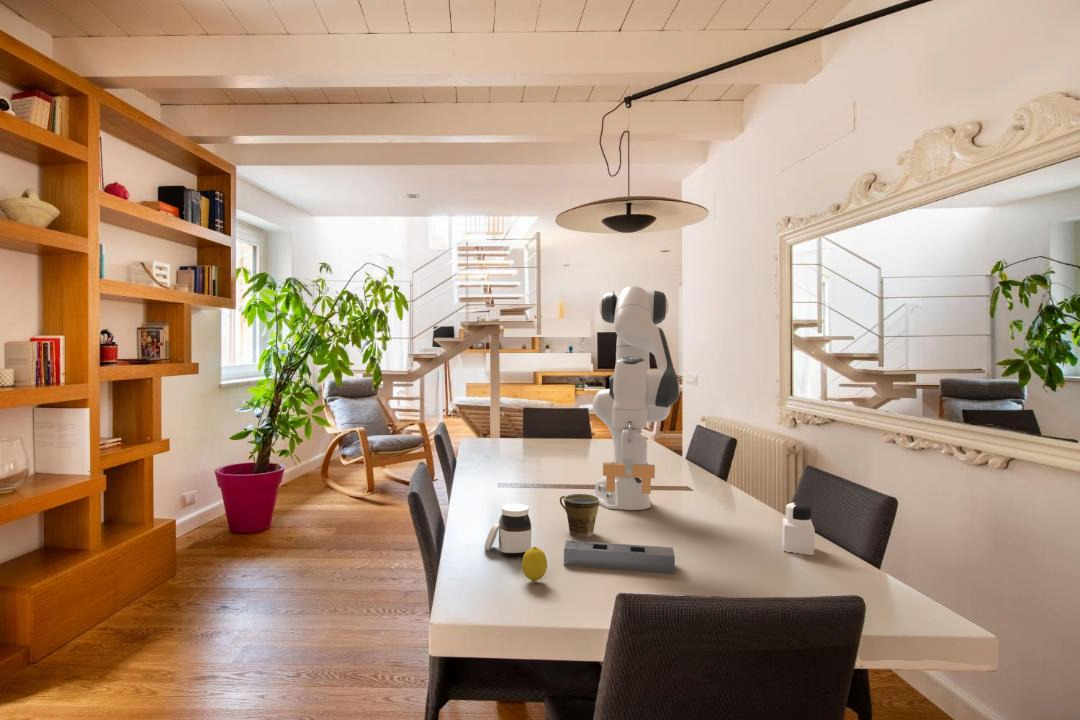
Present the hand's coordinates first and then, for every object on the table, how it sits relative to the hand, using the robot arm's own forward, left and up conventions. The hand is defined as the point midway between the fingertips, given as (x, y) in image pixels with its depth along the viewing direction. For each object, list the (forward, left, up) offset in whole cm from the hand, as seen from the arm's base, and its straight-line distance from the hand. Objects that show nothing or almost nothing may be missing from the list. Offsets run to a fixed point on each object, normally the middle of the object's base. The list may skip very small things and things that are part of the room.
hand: (628, 473), depth 145 cm
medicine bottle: (+24, +39, -21) cm, 50 cm away
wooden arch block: (0, 0, -5) cm, 5 cm away
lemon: (+2, -31, -20) cm, 37 cm away
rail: (+5, -8, -20) cm, 22 cm away
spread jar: (-17, -26, -21) cm, 37 cm away
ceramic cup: (-19, -1, -21) cm, 28 cm away
